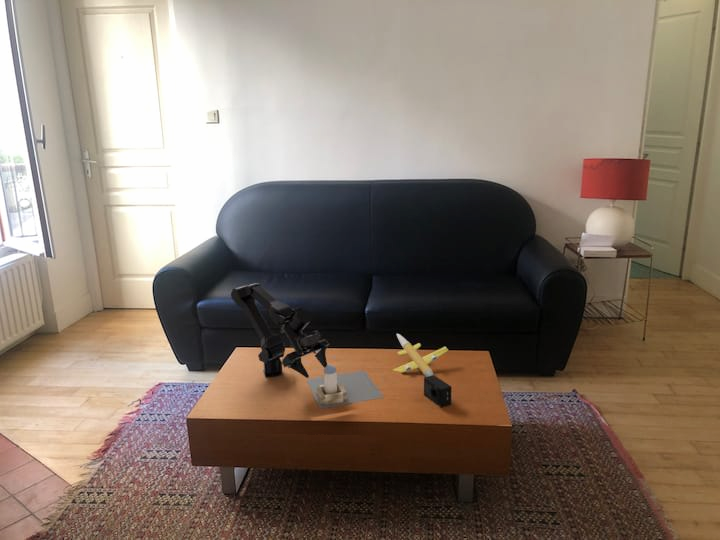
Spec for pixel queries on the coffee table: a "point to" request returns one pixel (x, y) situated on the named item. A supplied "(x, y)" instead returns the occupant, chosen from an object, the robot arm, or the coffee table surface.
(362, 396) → the jig board
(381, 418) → the coffee table surface
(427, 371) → the toy airplane
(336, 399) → the cradle
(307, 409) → the coffee table surface
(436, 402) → the digital camera
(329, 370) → the blue-domed white cylinder
